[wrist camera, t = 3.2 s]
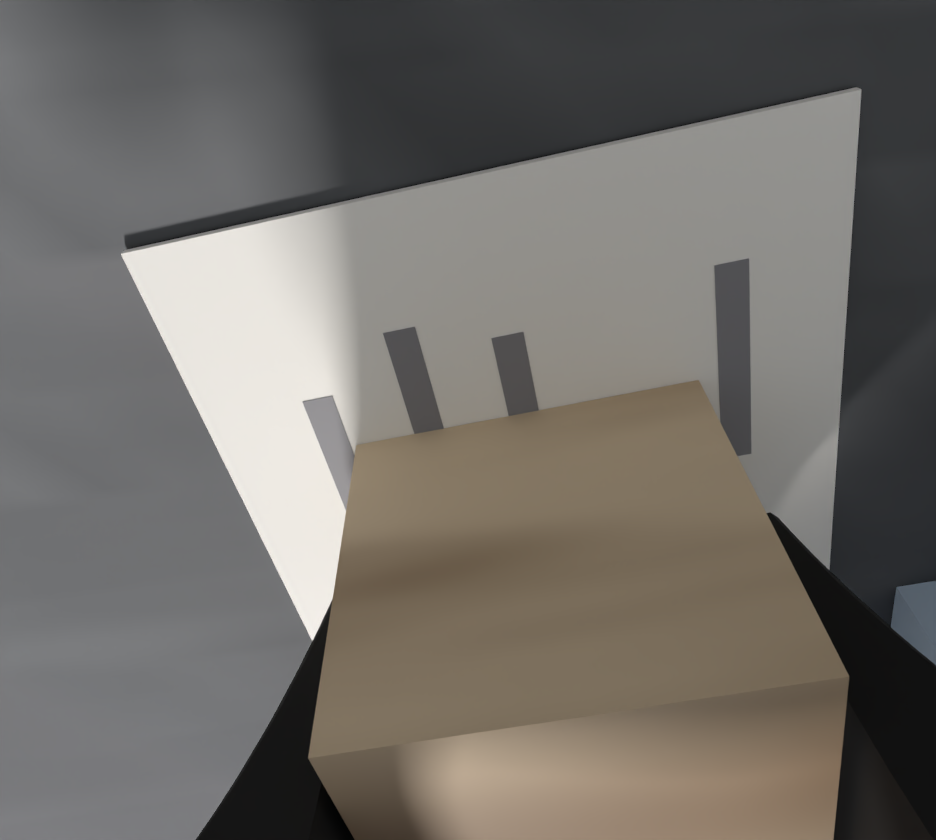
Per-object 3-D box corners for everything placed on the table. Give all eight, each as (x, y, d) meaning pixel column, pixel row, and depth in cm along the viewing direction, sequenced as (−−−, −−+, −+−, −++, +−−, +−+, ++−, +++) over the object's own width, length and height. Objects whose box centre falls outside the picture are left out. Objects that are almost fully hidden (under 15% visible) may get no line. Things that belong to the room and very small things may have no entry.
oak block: (711, 615, 14) (824, 926, 10) (435, 660, 14) (431, 975, 10) (698, 380, 11) (849, 676, 7) (356, 445, 12) (308, 758, 7)
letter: (817, 710, 16) (819, 716, 16) (381, 774, 17) (381, 780, 17) (857, 86, 9) (862, 89, 9) (124, 250, 10) (120, 254, 10)
